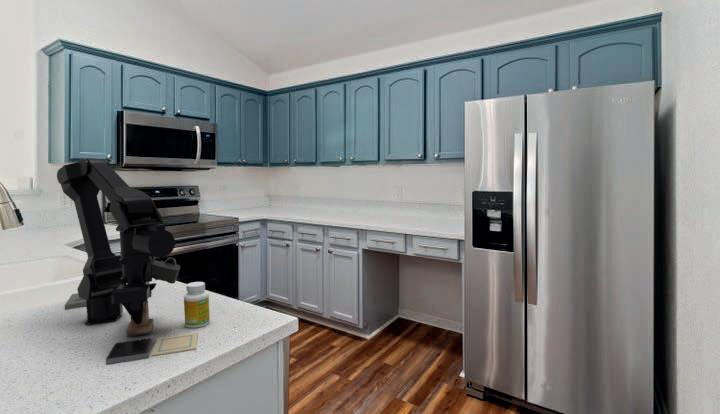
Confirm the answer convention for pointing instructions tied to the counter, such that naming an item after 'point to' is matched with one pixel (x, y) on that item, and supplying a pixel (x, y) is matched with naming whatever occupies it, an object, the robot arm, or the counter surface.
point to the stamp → (144, 326)
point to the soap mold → (75, 302)
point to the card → (175, 344)
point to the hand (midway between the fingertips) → (140, 320)
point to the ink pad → (130, 351)
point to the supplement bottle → (196, 305)
